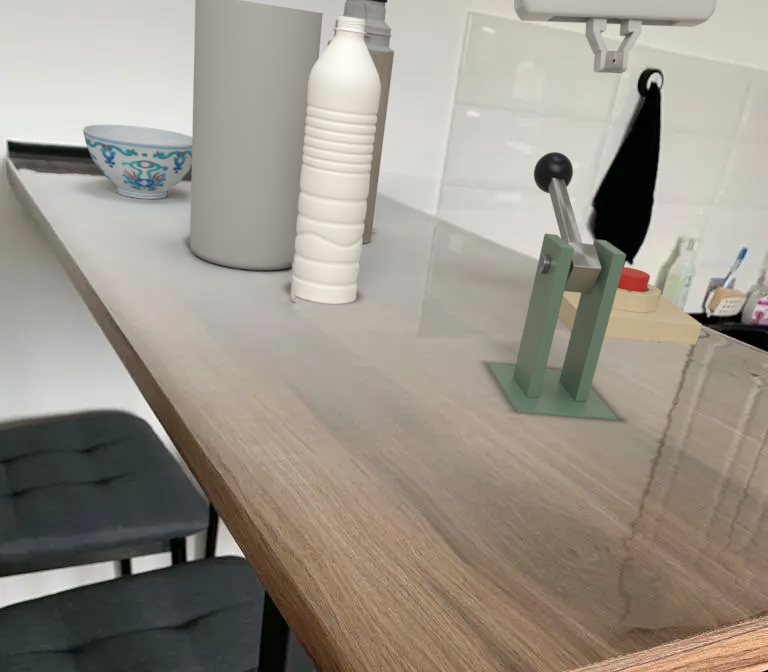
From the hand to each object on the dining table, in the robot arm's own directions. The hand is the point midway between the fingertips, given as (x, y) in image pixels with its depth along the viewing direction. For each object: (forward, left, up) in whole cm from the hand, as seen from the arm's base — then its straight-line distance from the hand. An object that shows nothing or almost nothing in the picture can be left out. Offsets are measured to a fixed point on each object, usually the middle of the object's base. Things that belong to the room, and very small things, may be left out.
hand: (609, 72), depth 88 cm
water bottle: (+28, +10, -24) cm, 38 cm away
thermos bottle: (+24, -20, -24) cm, 39 cm away
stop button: (-3, +11, -19) cm, 22 cm away
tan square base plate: (-3, +11, -24) cm, 26 cm away
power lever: (+11, +26, -12) cm, 31 cm away
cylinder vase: (+36, -4, -24) cm, 43 cm away
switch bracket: (+11, +33, -24) cm, 42 cm away
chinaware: (+51, -33, -24) cm, 65 cm away
